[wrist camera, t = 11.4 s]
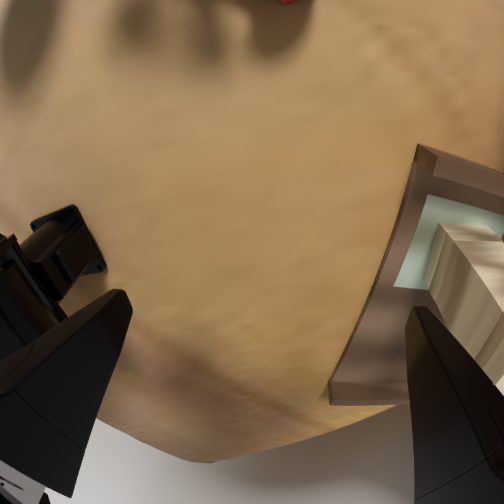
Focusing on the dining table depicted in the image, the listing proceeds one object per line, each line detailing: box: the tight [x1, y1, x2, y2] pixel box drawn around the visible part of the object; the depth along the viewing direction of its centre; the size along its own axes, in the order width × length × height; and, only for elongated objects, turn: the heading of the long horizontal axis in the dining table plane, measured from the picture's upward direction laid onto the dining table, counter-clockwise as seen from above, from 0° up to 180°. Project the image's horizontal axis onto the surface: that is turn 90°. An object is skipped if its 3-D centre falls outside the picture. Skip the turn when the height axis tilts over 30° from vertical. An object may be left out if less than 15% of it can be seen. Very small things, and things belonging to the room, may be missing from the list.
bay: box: [328, 144, 504, 406], centre depth 23 cm, size 26×12×3 cm, turn 175°
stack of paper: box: [423, 222, 504, 395], centre depth 15 cm, size 5×5×12 cm
